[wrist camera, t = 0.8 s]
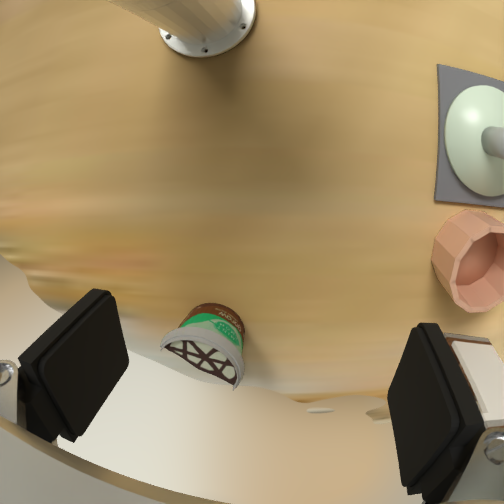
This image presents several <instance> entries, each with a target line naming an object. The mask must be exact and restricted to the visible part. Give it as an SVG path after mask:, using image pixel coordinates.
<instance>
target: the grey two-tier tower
mask: <svg viewBox="0 0 504 504" xmlns="http://www.w3.org/2000/svg"><path fill="white" fill-rule="evenodd" d="M443 335H444V337H445V339H446V340H447V342H448V344H449V346H450V348H451V350H452V352H453V354H454V356H455V358H456V360H457V362H458V364H459V366H460V368H461V370H462V372H463V374H464V377H465V379H466V381H467V383H468V385H469V387H470V389H471V392H472V394H473V396H474V398H475V401H476V403H477V405H478V408H479V410H480V412H481V415H482V417H483V420H484V422H485V423H484V426H485V428H486V430H487V429H490V428H493V427H501V428H504V363H503V362H502V360H501V359H500V357H499V355H498V354H497V352H496V350H495V349H494V347H493V346H492V344H491V343H490V341H489V339H488V338H480V337H473V336H465V335H458V334H451V333H444V334H443Z"/></svg>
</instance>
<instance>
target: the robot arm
mask: <svg viewBox="0 0 504 504" xmlns="http://www.w3.org/2000/svg"><path fill="white" fill-rule="evenodd" d="M107 1H109V2H111V3H113V4H115V5H118V6H120V7H122V8H123V9H125V10H127V11H129V12H131V13H133V14H135V15H137V16H139V17H141V18H143V19H144V20H146V21H148V22H150V23H152V24H154V25H155V26H157V27H159V31H160V34H161V37H162V38H163V40H164V41H165V43H166V44H167V45H168V46H169V47H170V48H172V49H173V50H175V51H176V52H178V53H181V54H183V55H186V56H190V57H198V58H202V57H211V56H215V55H219V54H221V53H224V52H226V51H228V50H230V49H231V48H233V47H235V46H236V45H237V44H239V43H240V42H241V41H242V40H243V39H244V38H245V37H246V35H247V34H248V33H249V31H250V30H251V28H252V26H253V23H254V20H255V17H256V5H255V1H254V0H107ZM243 27H246V28H245V29H242V28H243ZM170 37H171V39H170ZM206 50H208V52H207V53H205V51H206ZM18 359H19V361H20V364H21V367H19V368H17V366H16V364H15V363H14V362H12V361H9V360H0V504H229V503H224V502H218V501H213V500H208V499H204V498H199V497H195V496H191V495H186V494H182V493H178V492H174V491H171V490H167V489H164V488H160V487H157V486H154V485H151V484H147V483H144V482H141V481H138V480H135V479H132V478H130V477H127V476H124V475H121V474H119V473H116V472H113V471H111V470H108V469H105V468H103V467H101V466H98V465H96V464H93V463H91V462H89V461H87V460H84V459H82V458H80V457H78V456H75V455H73V454H71V453H69V452H67V451H65V450H63V449H61V448H59V447H58V445H57V436H58V435H59V434H60V436H61V437H63V438H65V439H67V440H69V441H71V442H73V443H74V442H75V440H76V439H77V437H78V436H82V435H83V434H84V432H85V431H86V429H87V428H88V426H89V425H90V423H91V422H92V420H93V419H94V417H95V415H96V414H97V412H98V411H99V409H100V408H101V406H102V405H103V403H104V402H105V400H106V399H107V397H108V395H109V394H110V393H111V391H112V390H113V388H114V387H115V385H116V384H117V382H118V381H119V379H120V378H121V376H122V375H123V373H124V372H125V371H126V369H127V367H128V364H129V357H128V353H127V349H126V345H125V341H124V337H123V333H122V328H121V324H120V319H119V315H118V310H117V305H116V300H115V298H114V297H113V296H112V295H111V293H110V292H109V291H106V290H101V289H92V290H90V291H89V292H88V293H87V294H86V295H85V296H84V297H82V298H81V299H80V300H79V301H78V302H77V303H76V304H75V305H73V306H72V307H71V308H70V309H69V310H68V311H67V312H66V313H65V314H64V315H62V317H60V318H59V319H58V320H57V321H56V322H55V323H54V324H53V325H52V326H51V327H49V328H48V329H47V330H46V331H45V332H44V333H43V334H42V335H41V336H40V337H39V338H38V339H37V340H36V341H35V342H34V343H33V344H32V345H31V346H30V347H28V349H26V351H24V352H23V353H22V354H21V355H20V356H19V357H18ZM387 399H388V405H389V410H390V415H391V420H392V426H393V431H394V437H395V443H396V449H397V455H398V461H399V469H400V476H401V483H402V485H403V486H404V487H407V493H408V495H413V494H420V493H422V498H423V500H424V501H423V502H422V504H504V428H501V427H493V428H490V429H487V430H486V428H485V426H484V423H485V422H484V420H483V417H482V415H481V412H480V410H479V408H478V405H477V403H476V401H475V398H474V396H473V394H472V392H471V389H470V387H469V385H468V383H467V381H466V379H465V377H464V374H463V372H462V370H461V368H460V366H459V364H458V362H457V360H456V358H455V356H454V354H453V352H452V350H451V348H450V346H449V344H448V342H447V340H446V339H445V337H444V335H443V333H442V331H441V329H440V327H439V325H438V324H436V323H419V324H418V325H417V327H414V328H412V330H411V332H410V335H409V338H408V341H407V344H406V347H405V349H404V352H403V355H402V358H401V360H400V363H399V365H398V368H397V370H396V373H395V376H394V378H393V380H392V383H391V385H390V388H389V390H388V396H387Z"/></svg>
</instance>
